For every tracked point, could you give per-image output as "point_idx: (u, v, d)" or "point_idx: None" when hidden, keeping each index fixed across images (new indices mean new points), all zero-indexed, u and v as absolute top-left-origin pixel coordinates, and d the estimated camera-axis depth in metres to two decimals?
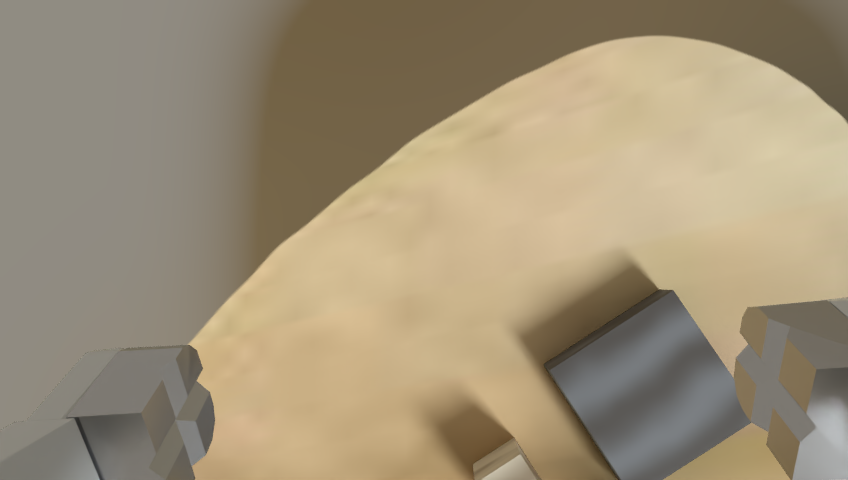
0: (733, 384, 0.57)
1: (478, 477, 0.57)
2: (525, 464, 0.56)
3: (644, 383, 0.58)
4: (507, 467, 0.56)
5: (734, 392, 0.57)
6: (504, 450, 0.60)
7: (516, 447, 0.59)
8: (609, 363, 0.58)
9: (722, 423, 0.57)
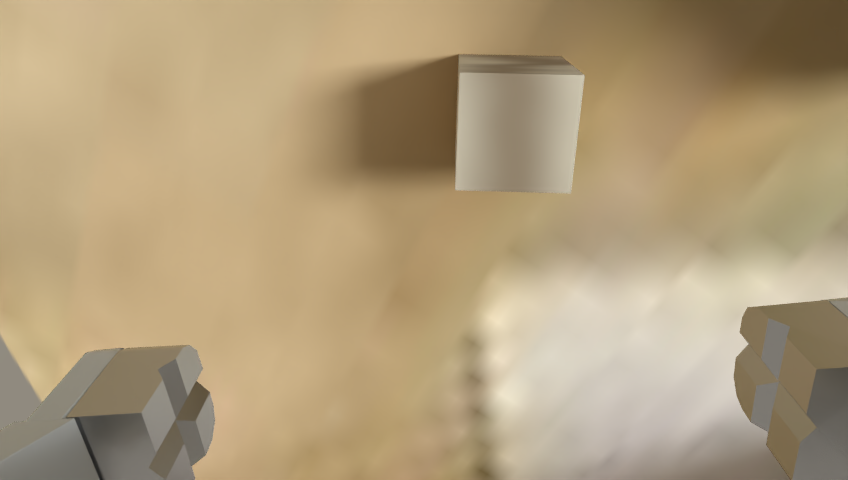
0: None
1: None
2: (484, 75, 0.25)
3: None
4: (466, 112, 0.25)
5: None
6: None
7: None
8: None
9: None
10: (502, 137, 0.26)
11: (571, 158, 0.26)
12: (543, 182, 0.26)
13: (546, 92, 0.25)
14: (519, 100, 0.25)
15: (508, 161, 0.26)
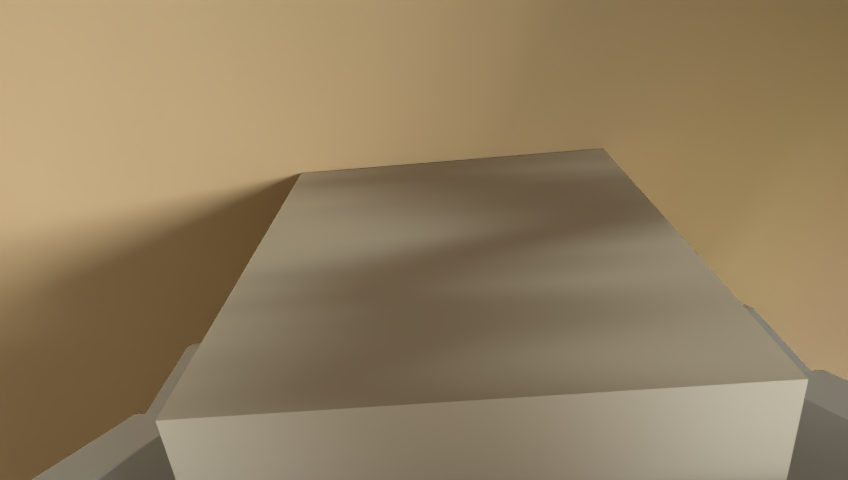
0: None
1: None
2: (286, 423, 0.05)
3: None
4: None
5: None
6: None
7: None
8: None
9: None
10: None
11: None
12: None
13: (612, 462, 0.05)
14: None
15: None
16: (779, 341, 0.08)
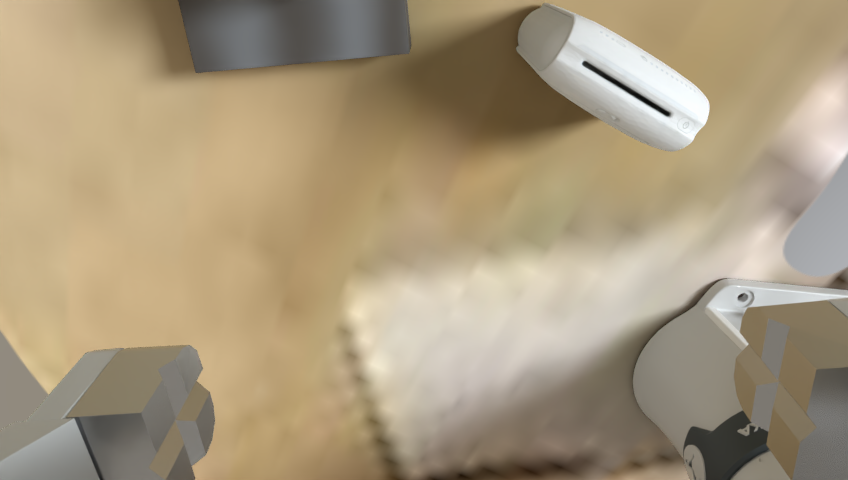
0: None
1: None
2: None
3: None
4: None
5: None
6: None
7: None
8: None
9: None
10: None
11: None
12: None
13: None
14: None
15: None
16: None
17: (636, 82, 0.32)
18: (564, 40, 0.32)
